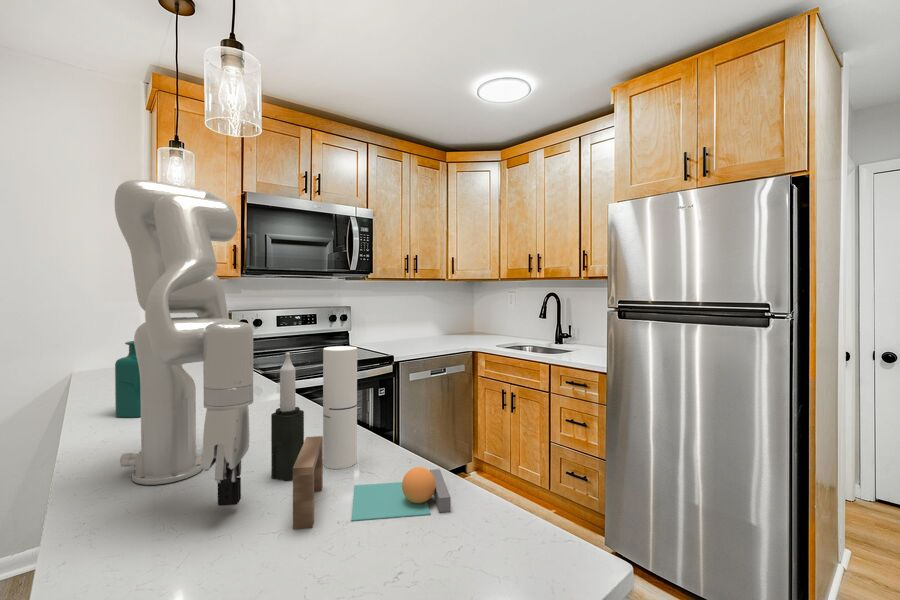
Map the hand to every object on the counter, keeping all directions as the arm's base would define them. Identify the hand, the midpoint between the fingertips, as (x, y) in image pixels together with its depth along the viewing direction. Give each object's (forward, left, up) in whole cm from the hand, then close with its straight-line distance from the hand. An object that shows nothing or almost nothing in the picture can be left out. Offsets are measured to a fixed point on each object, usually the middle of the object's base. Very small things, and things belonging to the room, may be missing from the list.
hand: (229, 502), depth 76 cm
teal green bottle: (-45, +67, -2) cm, 81 cm away
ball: (+32, -2, +2) cm, 32 cm away
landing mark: (+27, 0, -2) cm, 27 cm away
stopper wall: (+36, 0, -2) cm, 36 cm away
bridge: (+13, 0, -2) cm, 13 cm away
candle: (+7, +14, -2) cm, 16 cm away
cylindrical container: (+17, +19, -2) cm, 26 cm away
